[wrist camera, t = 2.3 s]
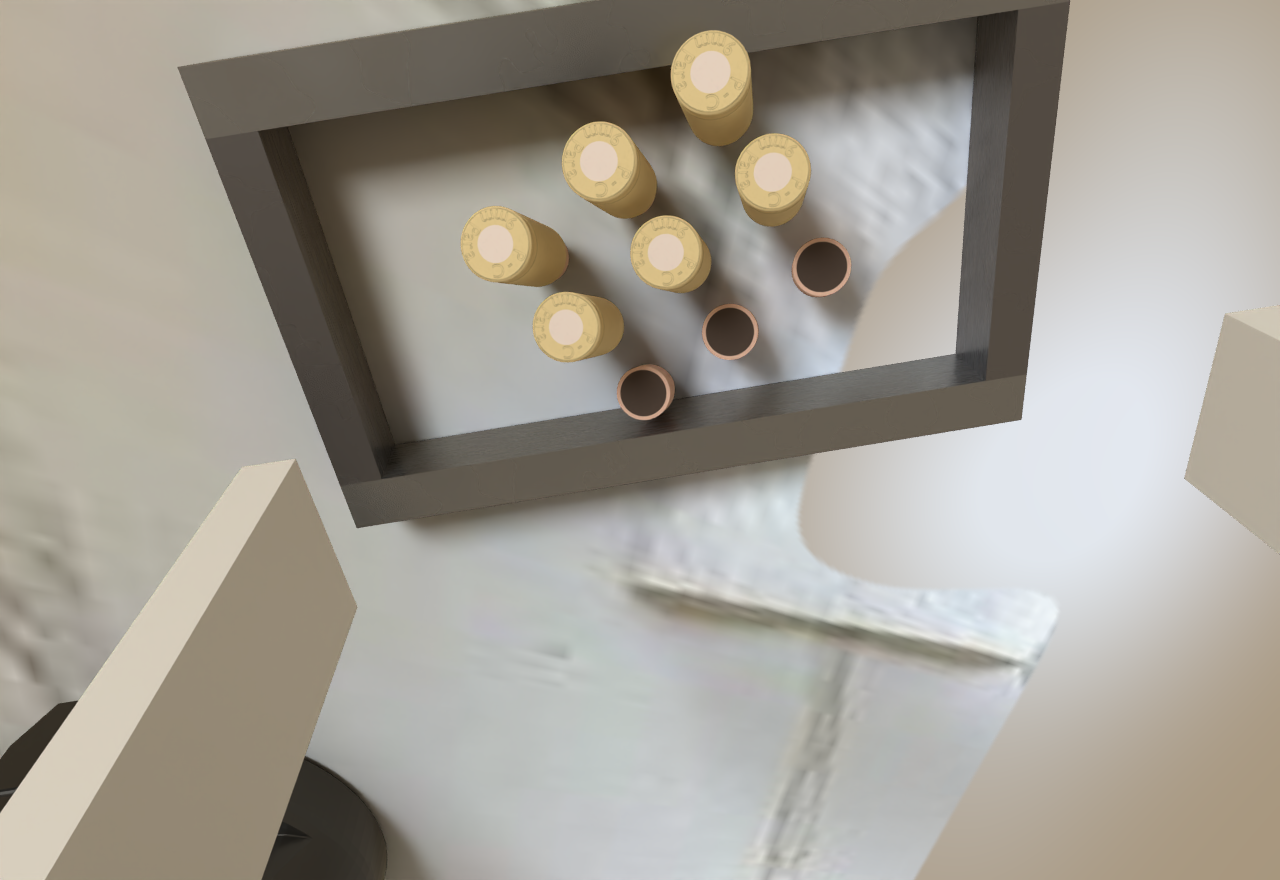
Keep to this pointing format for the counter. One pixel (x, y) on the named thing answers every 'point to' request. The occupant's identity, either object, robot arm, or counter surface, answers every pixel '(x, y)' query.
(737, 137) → the ammunition
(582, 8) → the gray rectangular frame
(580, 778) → the counter surface
